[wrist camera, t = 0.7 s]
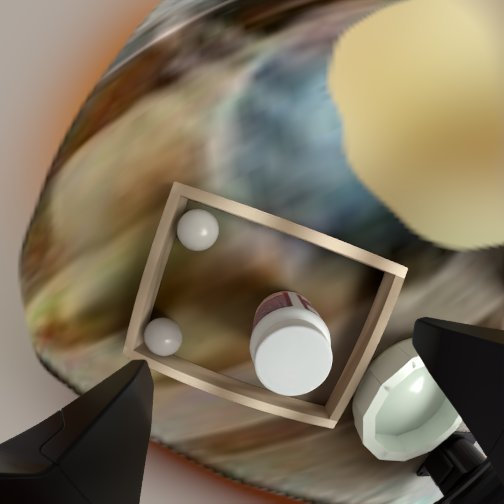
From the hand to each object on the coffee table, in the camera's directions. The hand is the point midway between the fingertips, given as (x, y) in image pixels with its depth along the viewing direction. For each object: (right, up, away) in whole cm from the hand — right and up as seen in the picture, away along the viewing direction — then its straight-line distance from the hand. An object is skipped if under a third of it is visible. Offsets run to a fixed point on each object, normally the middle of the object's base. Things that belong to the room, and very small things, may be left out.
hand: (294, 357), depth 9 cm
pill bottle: (+1, -2, +14) cm, 14 cm away
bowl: (+13, -10, +13) cm, 21 cm away
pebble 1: (-8, -3, +13) cm, 15 cm away
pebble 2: (-5, +5, +12) cm, 14 cm away
